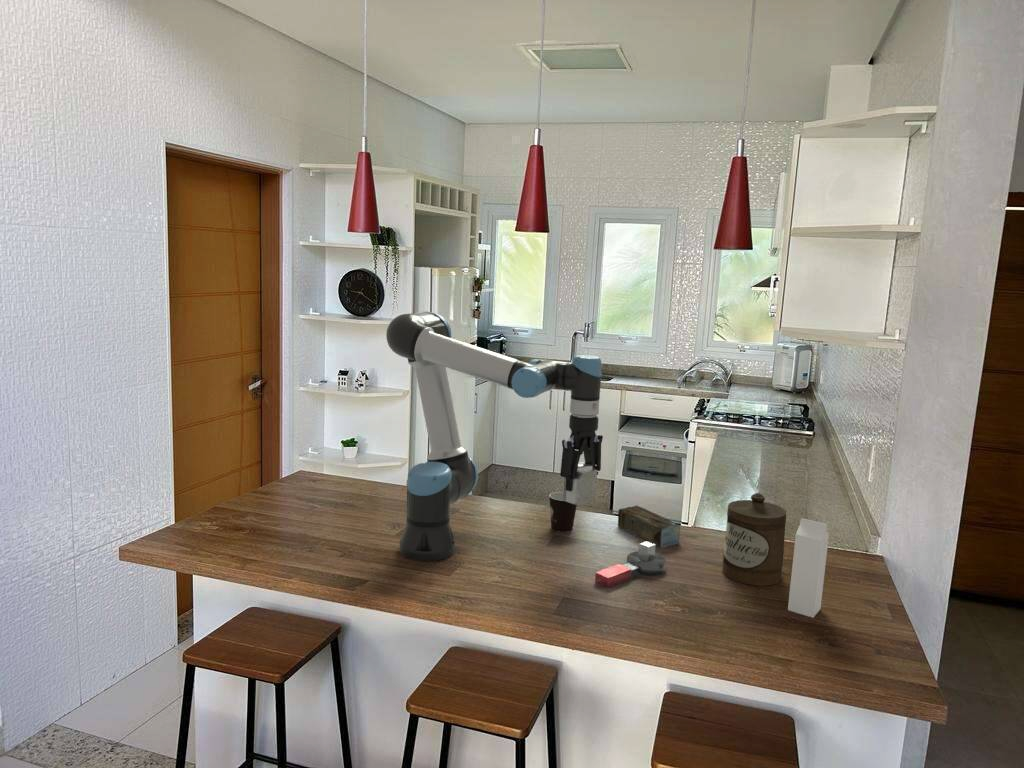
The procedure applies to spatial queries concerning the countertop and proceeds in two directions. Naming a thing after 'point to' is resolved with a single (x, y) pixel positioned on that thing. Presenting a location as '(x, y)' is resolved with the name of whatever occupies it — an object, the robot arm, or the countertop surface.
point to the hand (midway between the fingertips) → (579, 499)
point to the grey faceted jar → (584, 484)
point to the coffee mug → (561, 513)
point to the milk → (808, 568)
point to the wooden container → (754, 541)
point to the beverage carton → (649, 526)
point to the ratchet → (633, 566)
